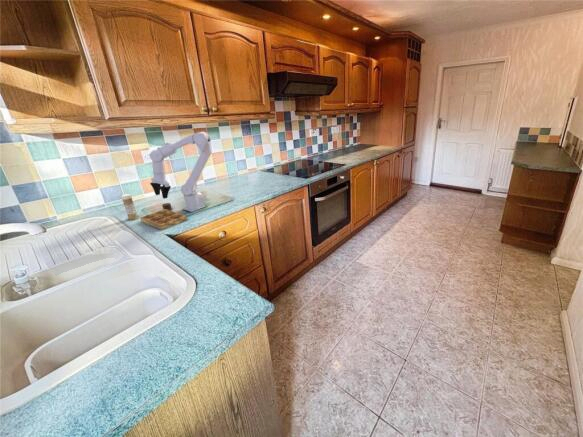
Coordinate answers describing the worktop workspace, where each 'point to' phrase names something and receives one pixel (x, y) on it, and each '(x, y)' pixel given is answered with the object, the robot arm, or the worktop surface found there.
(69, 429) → the worktop surface
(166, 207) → the token
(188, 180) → the robot arm
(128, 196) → the sprinkles bottle
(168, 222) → the grid
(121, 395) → the worktop surface
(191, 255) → the worktop surface
